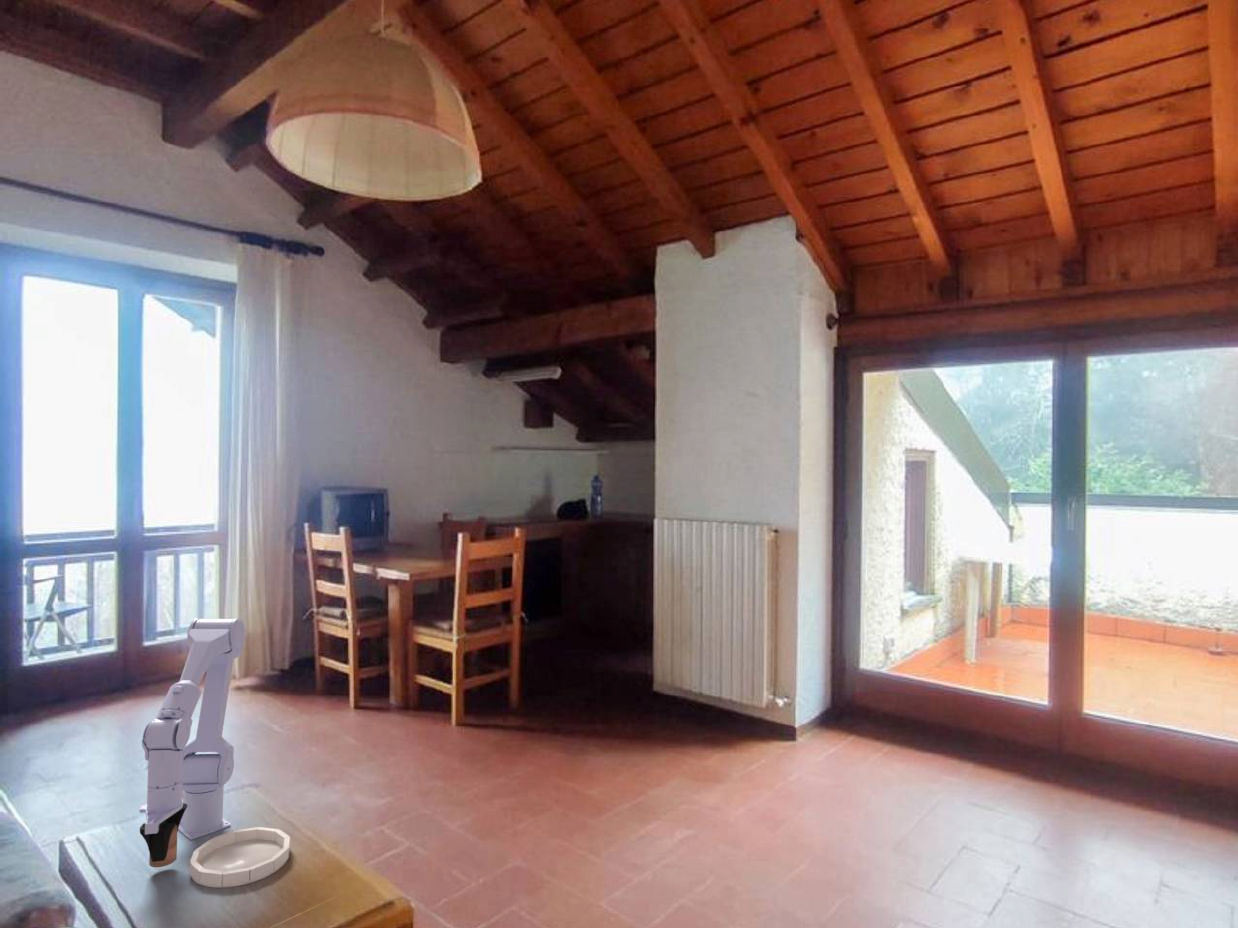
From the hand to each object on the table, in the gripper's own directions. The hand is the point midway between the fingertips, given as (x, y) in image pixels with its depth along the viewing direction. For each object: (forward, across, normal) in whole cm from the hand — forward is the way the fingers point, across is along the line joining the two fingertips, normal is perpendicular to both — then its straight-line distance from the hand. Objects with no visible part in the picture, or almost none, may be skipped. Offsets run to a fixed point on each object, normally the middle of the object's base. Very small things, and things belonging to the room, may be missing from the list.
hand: (163, 853), depth 138 cm
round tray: (+3, 0, +14) cm, 14 cm away
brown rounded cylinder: (+1, 0, 0) cm, 1 cm away
